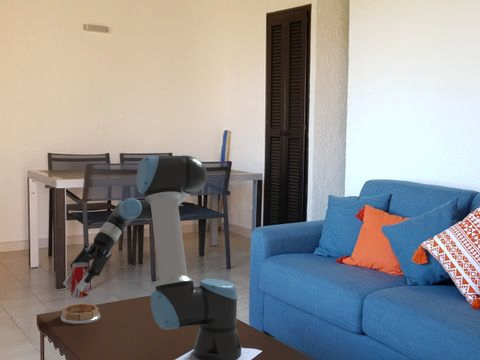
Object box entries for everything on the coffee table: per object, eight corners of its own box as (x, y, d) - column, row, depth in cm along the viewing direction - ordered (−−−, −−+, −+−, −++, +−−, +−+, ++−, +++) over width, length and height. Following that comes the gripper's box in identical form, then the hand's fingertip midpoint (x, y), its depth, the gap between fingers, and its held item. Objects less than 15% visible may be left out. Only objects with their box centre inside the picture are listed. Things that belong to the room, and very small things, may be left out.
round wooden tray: (105, 320, 219) (105, 311, 218) (67, 326, 211) (67, 317, 211) (92, 309, 231) (92, 300, 230) (56, 315, 223) (55, 306, 223)
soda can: (80, 300, 216) (80, 267, 214) (66, 296, 219) (65, 264, 218) (94, 295, 222) (94, 263, 221) (80, 292, 225) (80, 260, 224)
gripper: (130, 246, 225) (96, 298, 214) (95, 239, 237) (61, 288, 226) (119, 234, 220) (84, 287, 209) (84, 227, 232) (49, 277, 221)
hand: (72, 287), depth 217 cm, fingers closed on soda can, 7 cm apart
